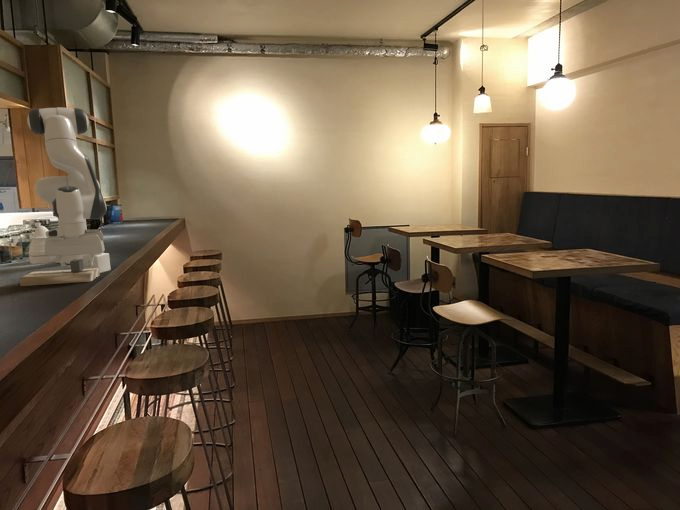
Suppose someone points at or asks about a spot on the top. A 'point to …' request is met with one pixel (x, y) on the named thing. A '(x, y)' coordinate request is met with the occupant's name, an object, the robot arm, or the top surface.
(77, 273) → the control strip
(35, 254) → the honey pot
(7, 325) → the top surface
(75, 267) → the fader knob
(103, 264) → the medicine bottle
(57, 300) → the top surface
